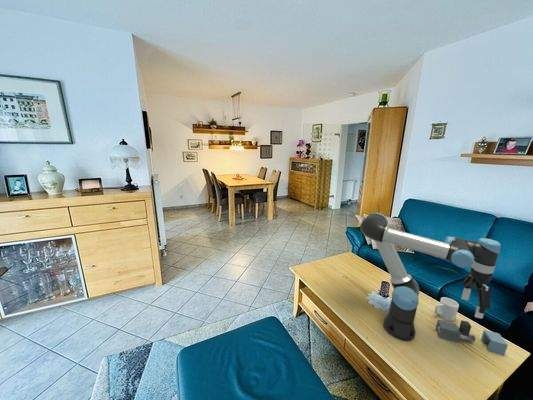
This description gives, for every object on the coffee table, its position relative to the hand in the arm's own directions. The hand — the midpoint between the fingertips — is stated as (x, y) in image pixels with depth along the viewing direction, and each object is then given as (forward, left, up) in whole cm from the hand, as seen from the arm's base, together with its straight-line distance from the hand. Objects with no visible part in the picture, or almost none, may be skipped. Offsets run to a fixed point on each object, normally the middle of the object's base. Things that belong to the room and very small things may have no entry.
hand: (471, 307), depth 110 cm
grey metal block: (-7, 0, -20) cm, 21 cm away
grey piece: (-3, 0, -19) cm, 19 cm away
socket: (+12, 0, -20) cm, 23 cm away
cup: (-3, +16, -20) cm, 26 cm away
